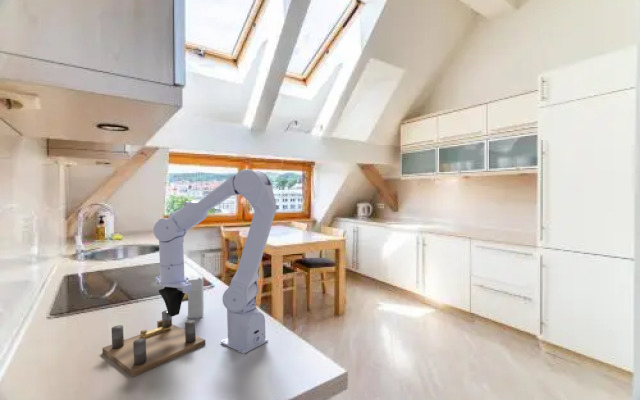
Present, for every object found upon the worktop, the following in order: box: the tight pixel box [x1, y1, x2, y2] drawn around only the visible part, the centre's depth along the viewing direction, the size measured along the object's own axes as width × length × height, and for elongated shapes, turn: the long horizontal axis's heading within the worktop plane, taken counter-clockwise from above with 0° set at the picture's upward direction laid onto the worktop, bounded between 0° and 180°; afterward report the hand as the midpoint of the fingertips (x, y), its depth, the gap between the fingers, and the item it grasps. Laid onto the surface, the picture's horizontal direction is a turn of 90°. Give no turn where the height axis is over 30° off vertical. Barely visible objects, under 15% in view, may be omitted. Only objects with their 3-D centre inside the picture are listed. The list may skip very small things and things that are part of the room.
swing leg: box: [139, 309, 173, 338], centre depth 84 cm, size 8×2×5 cm, turn 139°
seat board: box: [101, 319, 206, 378], centre depth 78 cm, size 17×17×6 cm
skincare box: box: [187, 273, 205, 320], centre depth 99 cm, size 6×4×12 cm
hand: (174, 314), depth 83 cm, fingers closed
